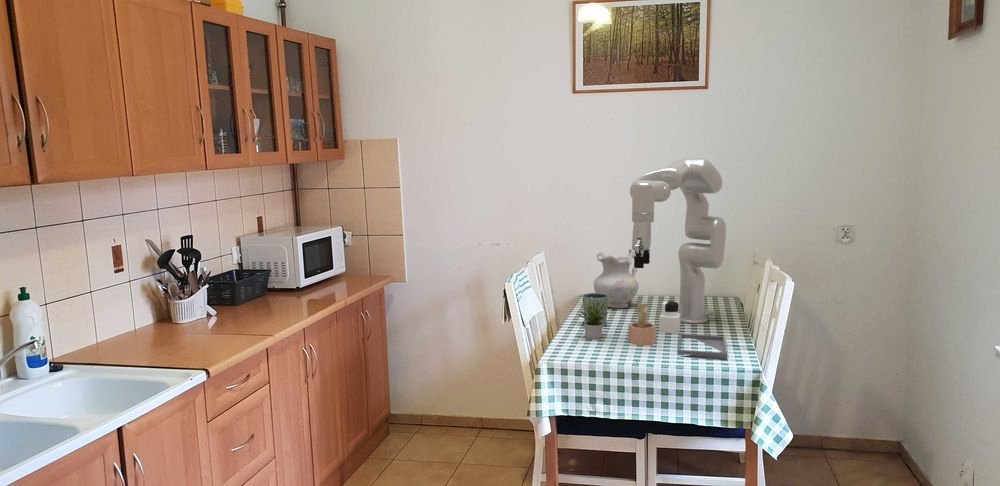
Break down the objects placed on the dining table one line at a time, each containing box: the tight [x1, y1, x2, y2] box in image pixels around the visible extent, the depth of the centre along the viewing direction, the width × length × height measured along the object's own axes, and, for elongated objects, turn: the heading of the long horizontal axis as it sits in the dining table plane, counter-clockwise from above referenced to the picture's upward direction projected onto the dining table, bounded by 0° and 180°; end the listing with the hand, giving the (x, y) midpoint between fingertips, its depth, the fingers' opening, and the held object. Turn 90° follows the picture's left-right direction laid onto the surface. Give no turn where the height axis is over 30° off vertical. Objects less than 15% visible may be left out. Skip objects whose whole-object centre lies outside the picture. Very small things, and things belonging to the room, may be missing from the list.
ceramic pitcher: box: [593, 248, 639, 309], centre depth 320 cm, size 22×20×25 cm
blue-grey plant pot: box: [581, 292, 608, 328], centre depth 287 cm, size 10×10×12 cm
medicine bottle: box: [658, 300, 681, 334], centre depth 274 cm, size 7×7×12 cm
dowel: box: [637, 303, 648, 328], centre depth 258 cm, size 3×3×14 cm
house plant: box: [575, 297, 613, 340], centre depth 265 cm, size 14×14×16 cm
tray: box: [677, 333, 728, 361], centre depth 252 cm, size 22×16×2 cm
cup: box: [627, 321, 657, 346], centre depth 259 cm, size 9×9×7 cm
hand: (641, 265), depth 256 cm, fingers open, 9 cm apart
